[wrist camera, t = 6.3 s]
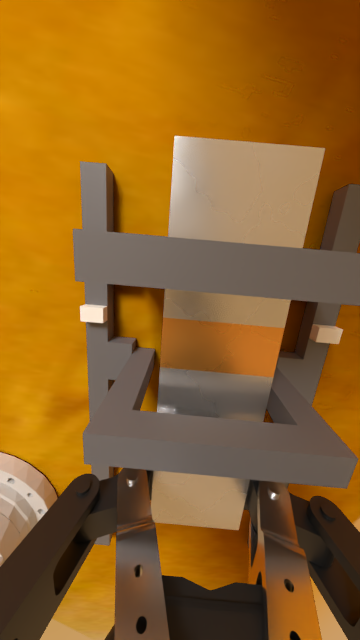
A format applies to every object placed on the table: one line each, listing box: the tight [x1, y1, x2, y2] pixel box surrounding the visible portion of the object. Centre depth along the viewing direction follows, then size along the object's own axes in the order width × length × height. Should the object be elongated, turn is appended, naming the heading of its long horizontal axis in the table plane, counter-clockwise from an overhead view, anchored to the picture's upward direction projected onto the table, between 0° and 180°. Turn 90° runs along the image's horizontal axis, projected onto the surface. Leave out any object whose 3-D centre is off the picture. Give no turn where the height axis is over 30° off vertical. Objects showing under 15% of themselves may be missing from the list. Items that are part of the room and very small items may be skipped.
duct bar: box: [151, 136, 325, 530], centre depth 10 cm, size 16×4×4 cm, turn 175°
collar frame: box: [73, 162, 360, 548], centre depth 10 cm, size 26×14×7 cm, turn 175°
